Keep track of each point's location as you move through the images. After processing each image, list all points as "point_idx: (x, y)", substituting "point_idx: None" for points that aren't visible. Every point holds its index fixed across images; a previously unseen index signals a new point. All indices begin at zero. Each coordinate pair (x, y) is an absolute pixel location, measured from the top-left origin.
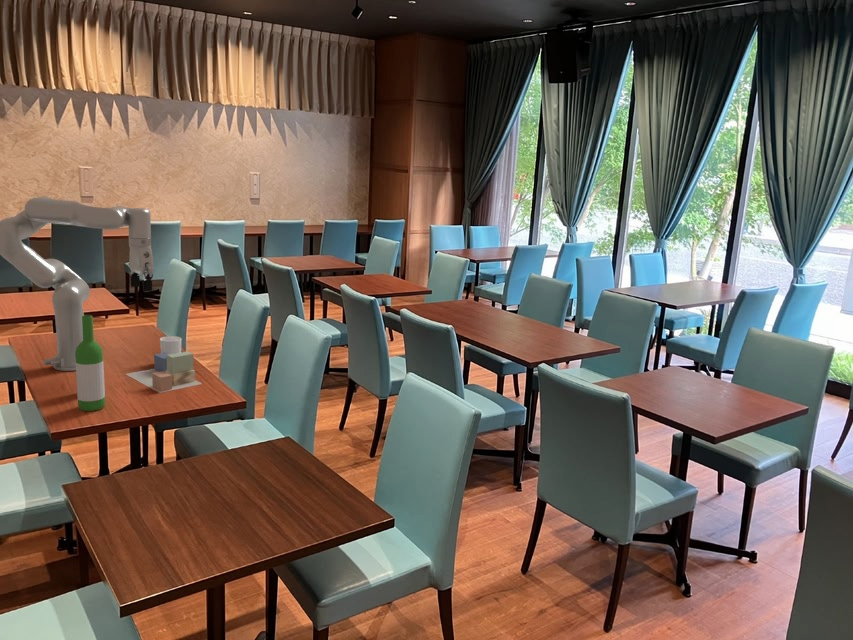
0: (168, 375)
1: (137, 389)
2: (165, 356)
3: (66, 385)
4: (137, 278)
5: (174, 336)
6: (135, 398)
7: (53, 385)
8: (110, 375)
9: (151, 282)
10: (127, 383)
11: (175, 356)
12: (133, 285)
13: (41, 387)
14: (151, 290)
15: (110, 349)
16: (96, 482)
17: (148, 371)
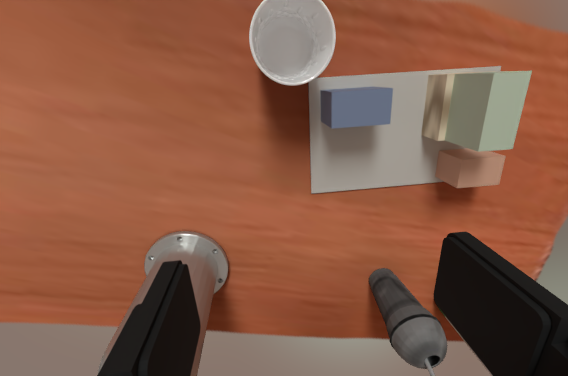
0: (500, 162)
1: (422, 205)
2: (371, 107)
3: (313, 298)
4: (163, 356)
5: (263, 4)
6: (465, 225)
7: (300, 314)
8: (298, 220)
9: (538, 291)
10: (374, 208)
11: (511, 135)
12: (195, 322)
13: (300, 330)
14: (460, 234)
15: (48, 147)
16: None
17: (324, 140)
